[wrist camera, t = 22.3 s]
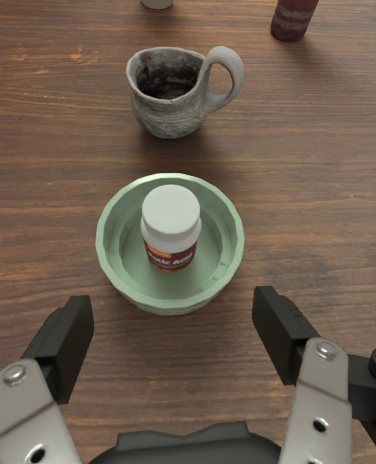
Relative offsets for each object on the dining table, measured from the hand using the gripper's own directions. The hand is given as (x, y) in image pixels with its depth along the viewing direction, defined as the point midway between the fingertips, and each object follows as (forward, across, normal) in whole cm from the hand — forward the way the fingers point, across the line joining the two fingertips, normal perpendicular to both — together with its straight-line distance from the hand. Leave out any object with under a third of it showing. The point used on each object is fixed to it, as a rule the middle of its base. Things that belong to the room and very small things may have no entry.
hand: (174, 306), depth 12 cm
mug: (+26, -2, -10) cm, 27 cm away
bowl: (+13, 0, +3) cm, 13 cm away
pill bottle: (+12, 0, +3) cm, 13 cm away
